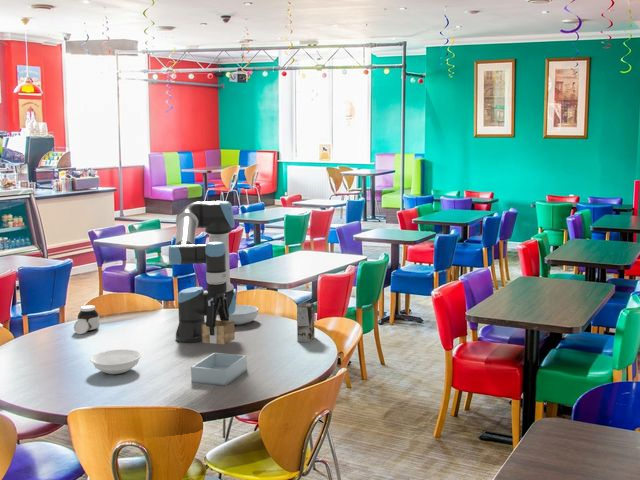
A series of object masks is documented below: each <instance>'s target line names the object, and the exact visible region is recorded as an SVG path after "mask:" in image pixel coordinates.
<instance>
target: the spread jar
mask: <svg viewBox="0 0 640 480" xmlns="http://www.w3.org/2000/svg"><path fill="white" fill-rule="evenodd" d="M76 319H77V320H76V321H75V323H74V324H73V331H74V332H75V333H76V334H77V335H84V334H86V333H93V332H96V331H97V330H98V329H99V328H100V314H99V312H98V311H97V310H96V306H95V305H92V304H89V305H82V306H80V311H79V312H78V315H77V318H76Z"/></svg>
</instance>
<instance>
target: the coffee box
mask: <svg viewBox="0 0 640 480" xmlns="http://www.w3.org/2000/svg"><path fill="white" fill-rule="evenodd" d="M296 327H297V330H296V331H297V332H296V335H297V338H296V339H297V340H296V341H297V342H298V343H299V342H303V343H311V342H312V341H313V340H314V338H315V335H316V334H315V333H316V332H315V303H314V302H300V303H299V304H298V306H296Z"/></svg>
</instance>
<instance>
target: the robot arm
mask: <svg viewBox="0 0 640 480" xmlns="http://www.w3.org/2000/svg"><path fill="white" fill-rule="evenodd" d="M235 224H236V223H235V215H234V209H233V205H232V203H231V202H230V201H228V200H226V201H225V200H224V201H223V200H216V201H215V200H211V201H193V202H191V203H189V204H186V205H185V206H184V207H182V209H180V210H179V212H178V213H177V215H176V217H175V226H176V236H175V244H173V245H169V247H168V262H169V264H171V265H190V264H191V265H192V264H193V265H194V264H195V265H198V264H199V265H200V264H202V265H203V264H205V270H206V273H205V274H206V276H205V277H206V283H207V284H206V290H205V289H204V287H202V286H192V287H187V288H185V289H182V290H180V291H179V292H178V294H177V305H178V325H177V329H176V332H175V341H177V342H180V343H187V344H188V343H200V342H202V324H204V323H206V326H207V327H209V333H210V343H209V344H217V327H216V326H215V324H216V320H217V318H218V317H217V315H220V319H221V320H222V321H229V315H230V314H233V313H234V312H235V308H236V305H237V297H238V296H237V295H238V290H237V288H234V285H233V284H232V283H231V271H230V269H231V267H230V246H229V245H230V243H229V241H230V240H229V235H230V233H232V231H233V229H232V228H234V227H236V225H235ZM196 229H205V233H206V235H208V240H209V242H207V243H205V244H204V243H202V244H195V240H196V238H195V237H196ZM220 319H219V320H220ZM221 320H220V321H221ZM217 345H218V344H217Z"/></svg>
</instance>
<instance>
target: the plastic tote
mask: <svg viewBox="0 0 640 480" xmlns="http://www.w3.org/2000/svg"><path fill="white" fill-rule="evenodd" d="M247 358H248V357H247V355H245V354H244V355H242V354H234V353H223V352H213V353H211V354H209V355H208V356H206V357H204V358H203V359H202V360H200V361H198V362H196V363H195V364H194V365H192V366H190V373H191V374H190V375H191V376H190V377H191V378H190V380H191V383H195V384H196V383H197V384H206V385H215V386H223V387H224V386H225V387H226V386H228V385H229V384H230V383H232V382H233V381H235V379H237V378H238V377H240V376H241V375H242V374H244V373H246V371H248V363H247V362H248V361H247Z"/></svg>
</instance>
